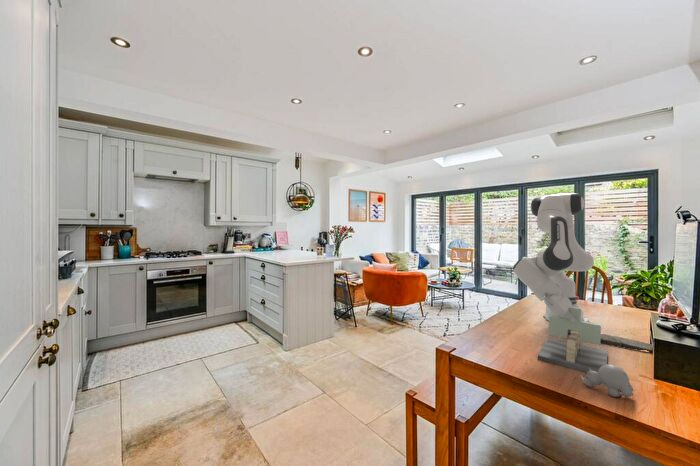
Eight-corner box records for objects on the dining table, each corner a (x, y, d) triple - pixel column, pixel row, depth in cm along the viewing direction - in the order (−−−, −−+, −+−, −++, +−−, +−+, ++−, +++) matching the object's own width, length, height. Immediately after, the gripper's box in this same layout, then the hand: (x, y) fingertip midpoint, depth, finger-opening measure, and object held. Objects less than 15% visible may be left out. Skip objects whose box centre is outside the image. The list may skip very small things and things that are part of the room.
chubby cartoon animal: (590, 389, 97) (579, 362, 99) (637, 390, 89) (624, 361, 91) (585, 397, 92) (574, 369, 95) (635, 399, 84) (621, 368, 86)
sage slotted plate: (548, 334, 120) (549, 304, 119) (549, 332, 121) (550, 303, 121) (600, 345, 109) (601, 312, 109) (600, 343, 111) (601, 311, 110)
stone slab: (565, 325, 146) (651, 339, 126) (565, 332, 146) (651, 347, 126) (562, 331, 139) (653, 347, 118) (563, 338, 139) (653, 355, 119)
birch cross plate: (548, 341, 131) (548, 321, 131) (607, 354, 118) (608, 332, 117) (537, 359, 113) (538, 336, 113) (606, 377, 100) (606, 351, 100)
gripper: (549, 291, 112) (581, 322, 105) (557, 283, 127) (585, 310, 120) (535, 300, 115) (565, 331, 108) (544, 292, 130) (571, 318, 124)
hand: (576, 320), depth 115 cm, fingers closed on sage slotted plate, 2 cm apart
